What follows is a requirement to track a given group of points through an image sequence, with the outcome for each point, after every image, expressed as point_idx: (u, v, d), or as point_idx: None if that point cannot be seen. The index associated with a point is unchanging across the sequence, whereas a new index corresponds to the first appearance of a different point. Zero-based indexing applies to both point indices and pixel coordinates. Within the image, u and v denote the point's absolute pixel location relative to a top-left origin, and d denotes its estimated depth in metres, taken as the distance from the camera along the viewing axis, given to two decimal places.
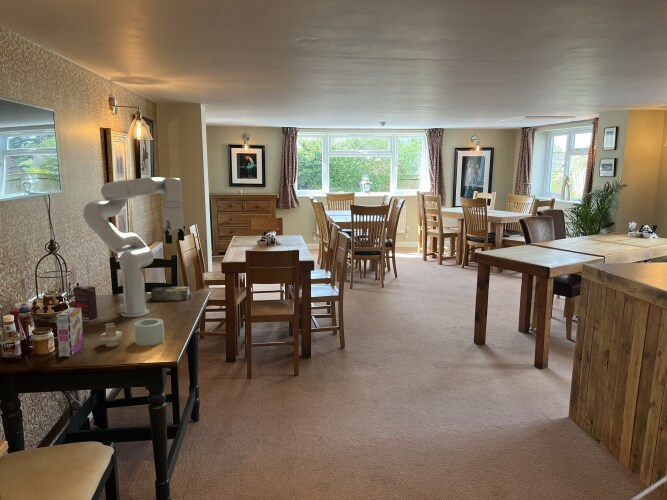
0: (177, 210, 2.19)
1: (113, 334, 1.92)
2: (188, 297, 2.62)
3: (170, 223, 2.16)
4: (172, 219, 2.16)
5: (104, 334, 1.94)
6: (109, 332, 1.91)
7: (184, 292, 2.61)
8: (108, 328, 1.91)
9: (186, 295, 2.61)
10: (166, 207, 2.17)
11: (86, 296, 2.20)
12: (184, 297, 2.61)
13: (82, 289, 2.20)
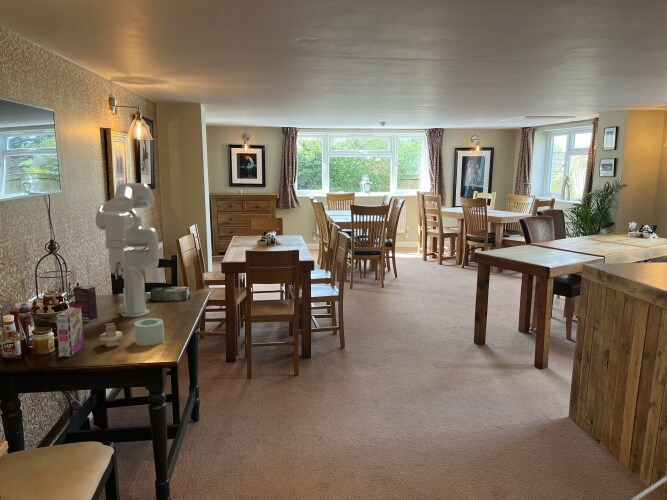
0: None
1: (113, 334, 1.92)
2: (188, 297, 2.61)
3: (122, 265, 1.90)
4: (123, 260, 1.91)
5: (104, 334, 1.94)
6: (109, 332, 1.91)
7: (184, 292, 2.60)
8: (108, 328, 1.91)
9: (186, 295, 2.61)
10: (113, 247, 1.89)
11: (86, 296, 2.20)
12: (184, 297, 2.61)
13: (82, 289, 2.20)
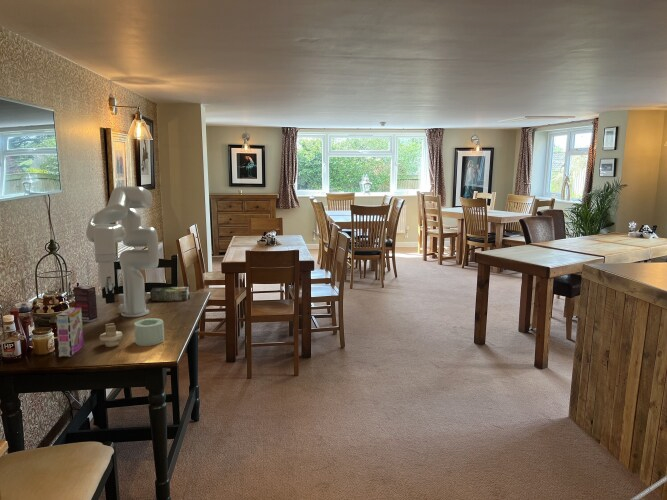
0: None
1: (113, 334, 1.92)
2: (187, 297, 2.61)
3: (112, 279, 1.86)
4: None
5: (104, 334, 1.94)
6: (109, 332, 1.91)
7: (183, 292, 2.60)
8: (108, 328, 1.91)
9: (185, 295, 2.61)
10: (103, 261, 1.85)
11: (86, 296, 2.20)
12: (183, 297, 2.61)
13: (82, 289, 2.20)
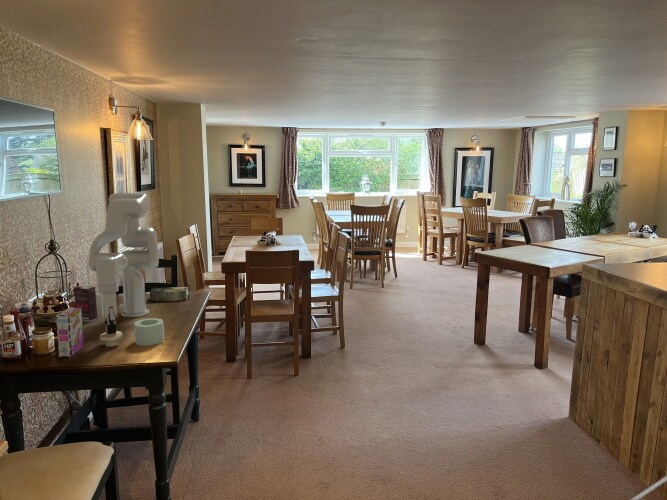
0: None
1: (113, 334, 1.92)
2: (187, 297, 2.61)
3: (114, 309, 1.89)
4: (116, 304, 1.89)
5: (104, 334, 1.94)
6: None
7: (183, 292, 2.60)
8: None
9: (185, 295, 2.60)
10: (105, 292, 1.87)
11: (86, 296, 2.20)
12: (183, 297, 2.60)
13: (82, 289, 2.20)
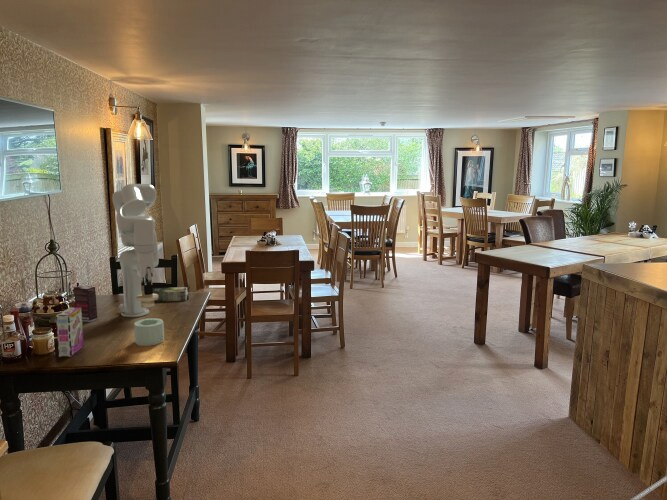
0: None
1: (150, 295, 1.94)
2: (186, 298, 2.61)
3: (152, 269, 1.90)
4: (153, 264, 1.91)
5: (140, 295, 1.96)
6: None
7: (182, 293, 2.59)
8: None
9: (184, 296, 2.60)
10: (142, 252, 1.89)
11: (86, 296, 2.20)
12: (182, 298, 2.60)
13: (82, 289, 2.20)
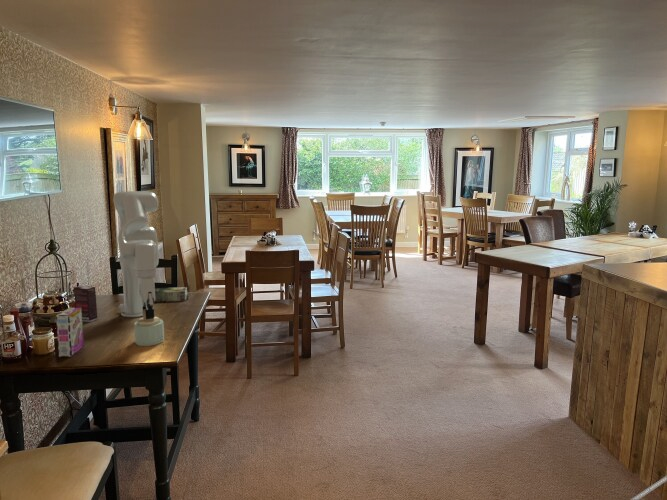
0: None
1: (151, 319, 1.96)
2: (186, 298, 2.60)
3: (153, 294, 1.92)
4: (154, 289, 1.93)
5: (142, 319, 1.98)
6: None
7: (182, 293, 2.59)
8: None
9: (184, 296, 2.59)
10: (144, 277, 1.91)
11: (86, 296, 2.20)
12: (182, 298, 2.60)
13: (82, 289, 2.20)
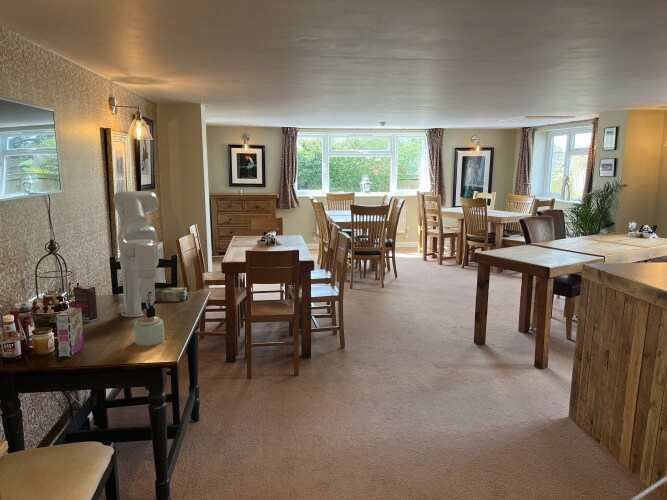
0: None
1: (151, 319, 1.96)
2: (185, 298, 2.60)
3: (153, 294, 1.92)
4: (154, 289, 1.93)
5: (142, 319, 1.98)
6: None
7: (181, 293, 2.59)
8: None
9: (183, 296, 2.59)
10: (144, 277, 1.91)
11: (86, 296, 2.20)
12: (181, 298, 2.59)
13: (82, 289, 2.20)
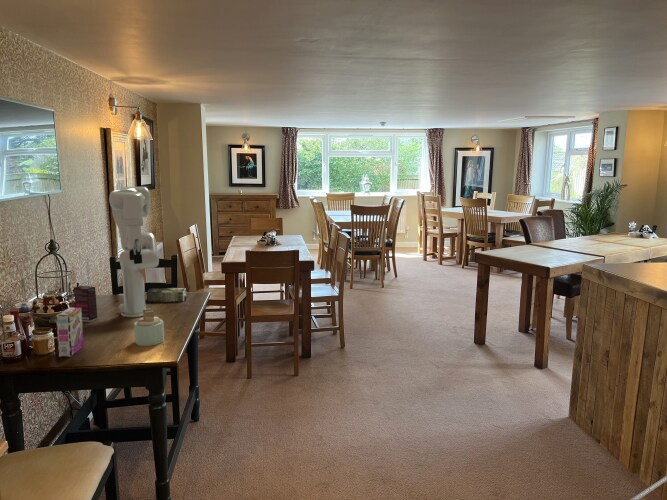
0: None
1: (151, 319, 1.96)
2: (184, 299, 2.59)
3: (140, 241, 2.04)
4: (141, 237, 2.05)
5: (142, 319, 1.98)
6: (147, 317, 1.95)
7: (180, 293, 2.58)
8: (146, 313, 1.94)
9: (182, 296, 2.58)
10: (131, 225, 2.03)
11: (86, 296, 2.20)
12: (180, 298, 2.58)
13: (82, 289, 2.20)
